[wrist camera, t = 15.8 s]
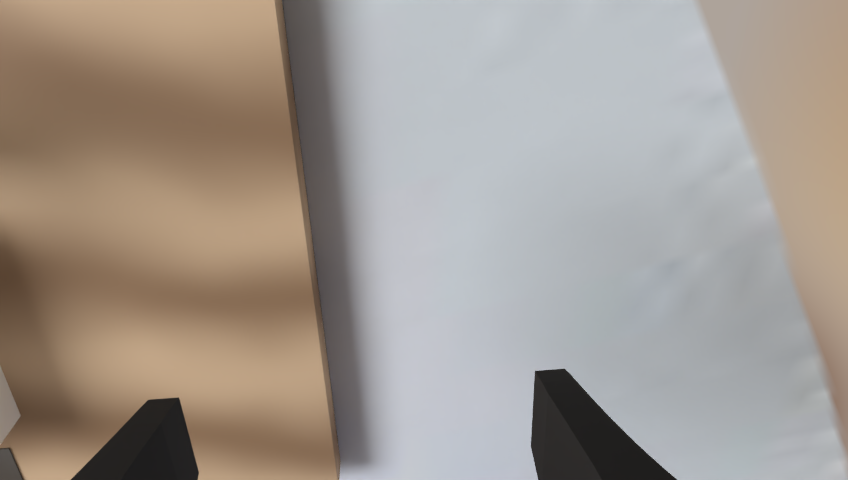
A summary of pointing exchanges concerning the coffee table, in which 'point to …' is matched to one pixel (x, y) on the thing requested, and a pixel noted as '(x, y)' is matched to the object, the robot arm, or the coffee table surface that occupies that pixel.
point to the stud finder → (6, 408)
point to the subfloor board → (157, 237)
